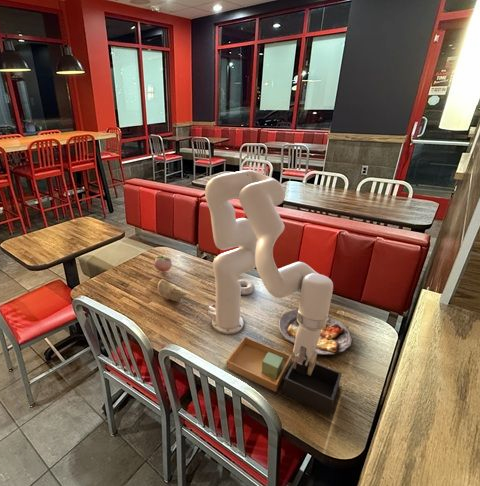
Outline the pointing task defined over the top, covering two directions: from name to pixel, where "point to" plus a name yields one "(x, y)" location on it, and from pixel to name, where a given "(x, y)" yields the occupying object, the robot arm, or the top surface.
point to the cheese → (170, 290)
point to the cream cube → (310, 362)
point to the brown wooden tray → (256, 362)
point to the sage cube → (272, 365)
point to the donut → (246, 287)
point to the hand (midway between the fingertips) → (304, 365)
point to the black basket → (313, 387)
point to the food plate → (331, 337)
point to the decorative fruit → (162, 263)
